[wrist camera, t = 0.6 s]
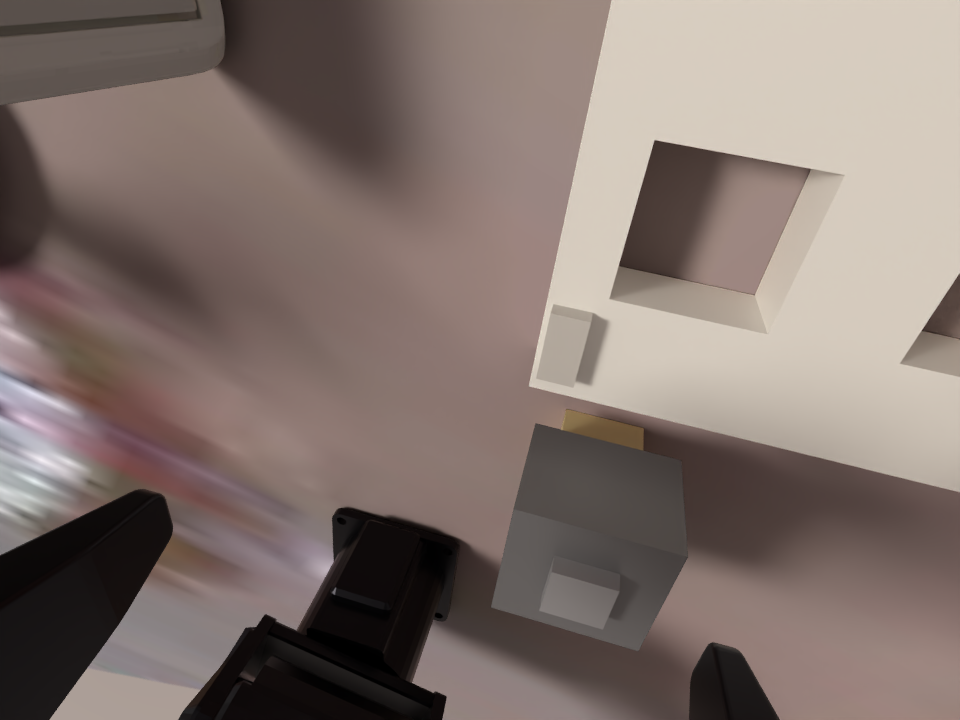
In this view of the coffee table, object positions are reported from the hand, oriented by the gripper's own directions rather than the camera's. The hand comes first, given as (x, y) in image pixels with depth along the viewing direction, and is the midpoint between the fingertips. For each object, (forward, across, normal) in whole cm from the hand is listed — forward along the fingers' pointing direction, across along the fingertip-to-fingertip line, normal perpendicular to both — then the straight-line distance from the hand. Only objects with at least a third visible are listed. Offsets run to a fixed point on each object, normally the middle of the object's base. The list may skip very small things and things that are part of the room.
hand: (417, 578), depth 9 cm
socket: (+12, -9, -3) cm, 15 cm away
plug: (+13, -4, +7) cm, 15 cm away
